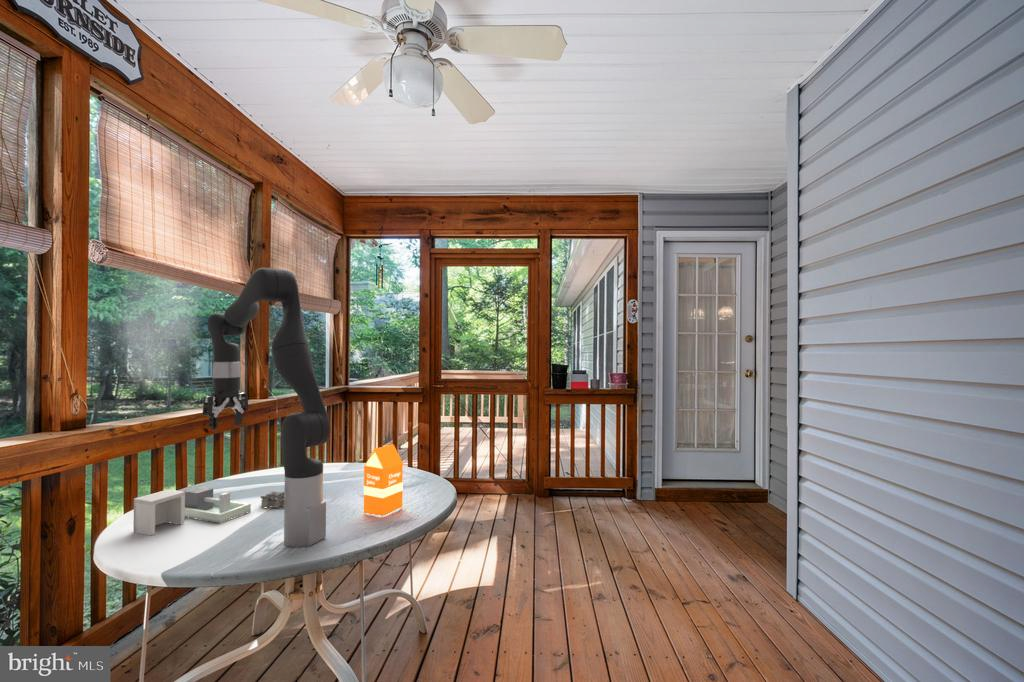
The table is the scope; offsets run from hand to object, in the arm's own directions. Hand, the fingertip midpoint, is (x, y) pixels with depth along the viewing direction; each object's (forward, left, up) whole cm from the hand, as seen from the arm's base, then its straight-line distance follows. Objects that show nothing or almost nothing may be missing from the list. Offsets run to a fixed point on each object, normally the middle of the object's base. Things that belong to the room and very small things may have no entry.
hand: (226, 427), depth 149 cm
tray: (-2, +6, -25) cm, 26 cm away
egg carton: (-15, -8, -25) cm, 30 cm away
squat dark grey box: (-1, +6, -24) cm, 25 cm away
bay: (+1, +19, -25) cm, 32 cm away
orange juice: (-50, -13, -25) cm, 57 cm away
